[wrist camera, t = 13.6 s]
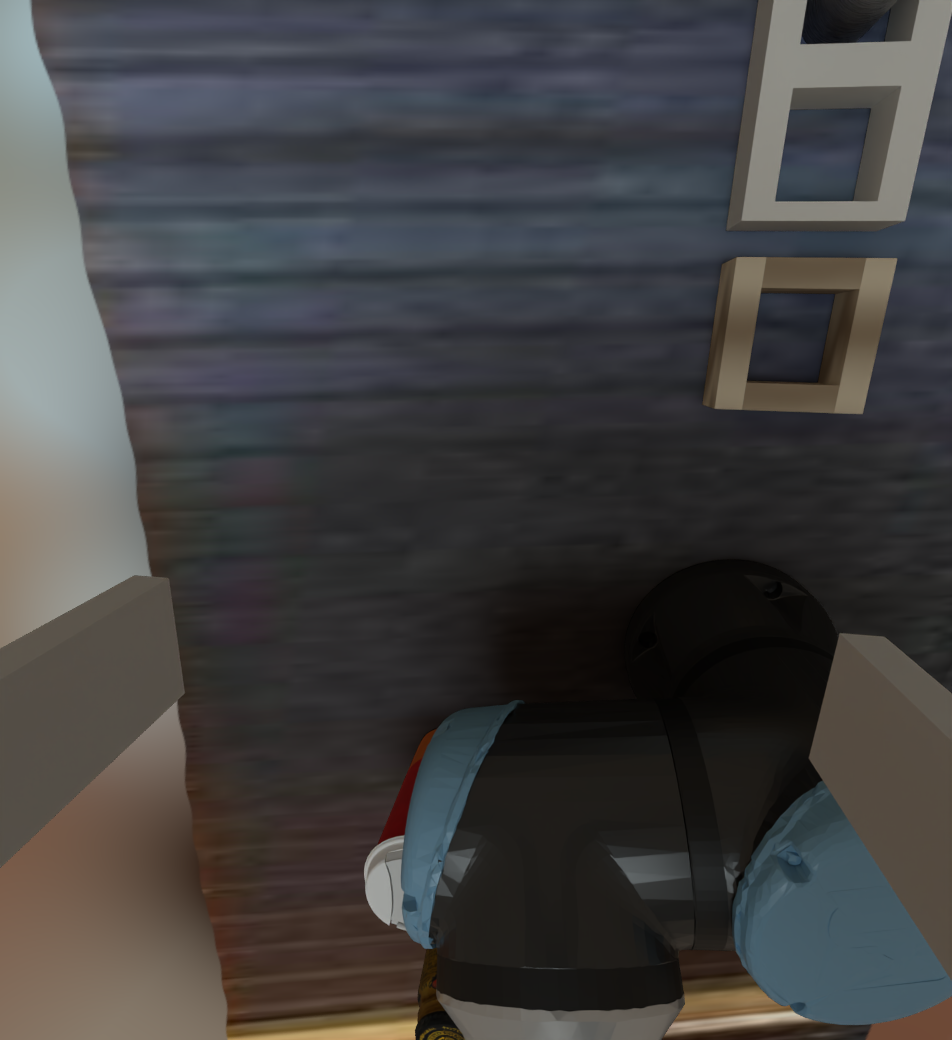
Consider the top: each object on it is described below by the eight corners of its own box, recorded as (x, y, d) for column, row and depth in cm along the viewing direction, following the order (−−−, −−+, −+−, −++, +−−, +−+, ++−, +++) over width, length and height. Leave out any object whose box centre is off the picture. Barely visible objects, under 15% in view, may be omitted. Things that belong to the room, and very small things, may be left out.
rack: (875, 231, 35) (905, 220, 32) (726, 230, 36) (741, 220, 33) (941, -78, 31) (981, -122, 28) (768, -69, 32) (790, -110, 29)
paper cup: (479, 798, 51) (456, 955, 38) (399, 773, 52) (348, 920, 38) (502, 730, 49) (486, 872, 36) (418, 704, 49) (371, 835, 36)
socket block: (839, 409, 38) (862, 414, 35) (702, 404, 39) (714, 408, 36) (869, 265, 36) (897, 258, 33) (722, 264, 37) (736, 257, 34)
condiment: (513, 920, 55) (504, 1069, 44) (437, 939, 57) (410, 1086, 46) (480, 865, 54) (462, 1004, 42) (404, 887, 56) (367, 1025, 44)
